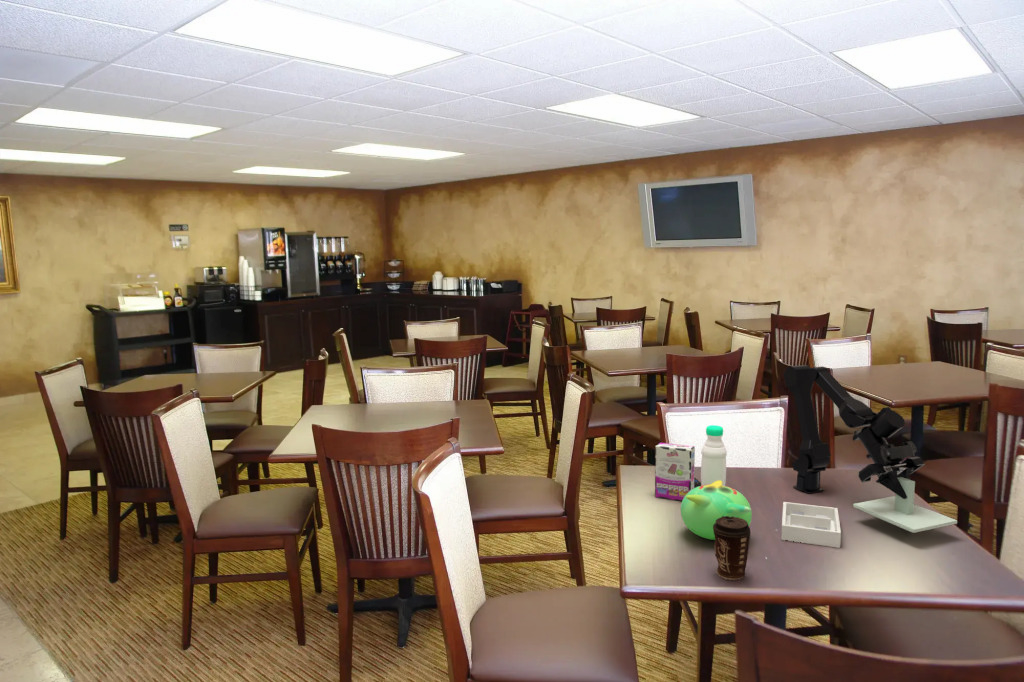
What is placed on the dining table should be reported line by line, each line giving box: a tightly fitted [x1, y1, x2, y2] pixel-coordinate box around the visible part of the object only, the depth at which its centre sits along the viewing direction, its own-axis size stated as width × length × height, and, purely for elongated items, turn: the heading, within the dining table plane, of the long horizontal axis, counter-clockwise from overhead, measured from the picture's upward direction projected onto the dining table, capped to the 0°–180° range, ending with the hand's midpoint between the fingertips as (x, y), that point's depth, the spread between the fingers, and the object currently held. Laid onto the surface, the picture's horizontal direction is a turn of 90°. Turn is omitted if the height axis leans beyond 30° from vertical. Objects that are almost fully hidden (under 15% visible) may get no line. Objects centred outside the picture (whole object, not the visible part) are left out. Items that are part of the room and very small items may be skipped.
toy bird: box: [680, 480, 753, 541], centre depth 186 cm, size 18×17×15 cm
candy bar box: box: [654, 442, 696, 502], centre depth 216 cm, size 11×5×16 cm, turn 62°
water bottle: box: [700, 424, 728, 486], centre depth 205 cm, size 7×7×25 cm
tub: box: [780, 501, 842, 549], centre depth 191 cm, size 14×18×4 cm
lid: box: [852, 477, 958, 534], centre depth 190 cm, size 15×19×11 cm
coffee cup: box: [713, 516, 751, 581], centre depth 166 cm, size 9×8×13 cm
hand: (908, 497), depth 188 cm, fingers closed on lid
